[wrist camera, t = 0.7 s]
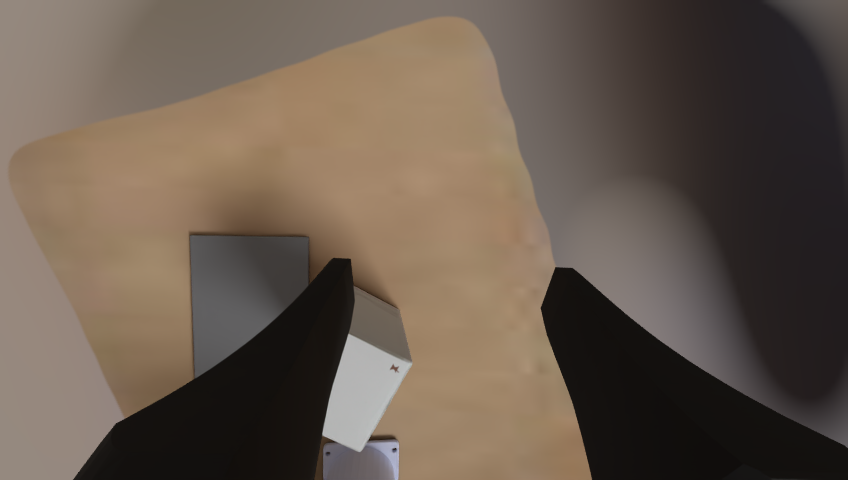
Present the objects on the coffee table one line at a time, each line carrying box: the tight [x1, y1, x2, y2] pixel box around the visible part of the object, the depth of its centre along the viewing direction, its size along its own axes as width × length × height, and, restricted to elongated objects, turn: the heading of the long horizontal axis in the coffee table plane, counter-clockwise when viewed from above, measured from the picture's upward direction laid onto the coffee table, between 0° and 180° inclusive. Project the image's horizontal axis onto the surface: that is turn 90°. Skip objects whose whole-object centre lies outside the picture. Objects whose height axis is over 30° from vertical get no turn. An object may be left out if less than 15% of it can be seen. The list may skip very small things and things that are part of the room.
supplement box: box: [322, 286, 412, 452], centre depth 28 cm, size 7×7×13 cm
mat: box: [190, 235, 309, 378], centre depth 33 cm, size 18×11×1 cm, turn 179°
